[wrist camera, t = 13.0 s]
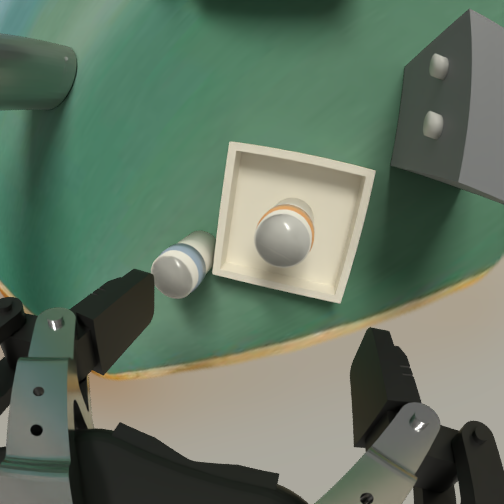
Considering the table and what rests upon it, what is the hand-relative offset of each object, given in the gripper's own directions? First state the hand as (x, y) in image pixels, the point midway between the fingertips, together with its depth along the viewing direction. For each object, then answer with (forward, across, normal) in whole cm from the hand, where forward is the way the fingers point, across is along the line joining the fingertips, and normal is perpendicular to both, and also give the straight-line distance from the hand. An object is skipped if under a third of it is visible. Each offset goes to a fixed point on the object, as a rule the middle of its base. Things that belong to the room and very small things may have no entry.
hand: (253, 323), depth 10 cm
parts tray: (+18, 0, 0) cm, 19 cm away
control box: (+18, -12, -12) cm, 25 cm away
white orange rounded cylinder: (+18, 0, 0) cm, 18 cm away
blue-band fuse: (+18, +8, +6) cm, 21 cm away
